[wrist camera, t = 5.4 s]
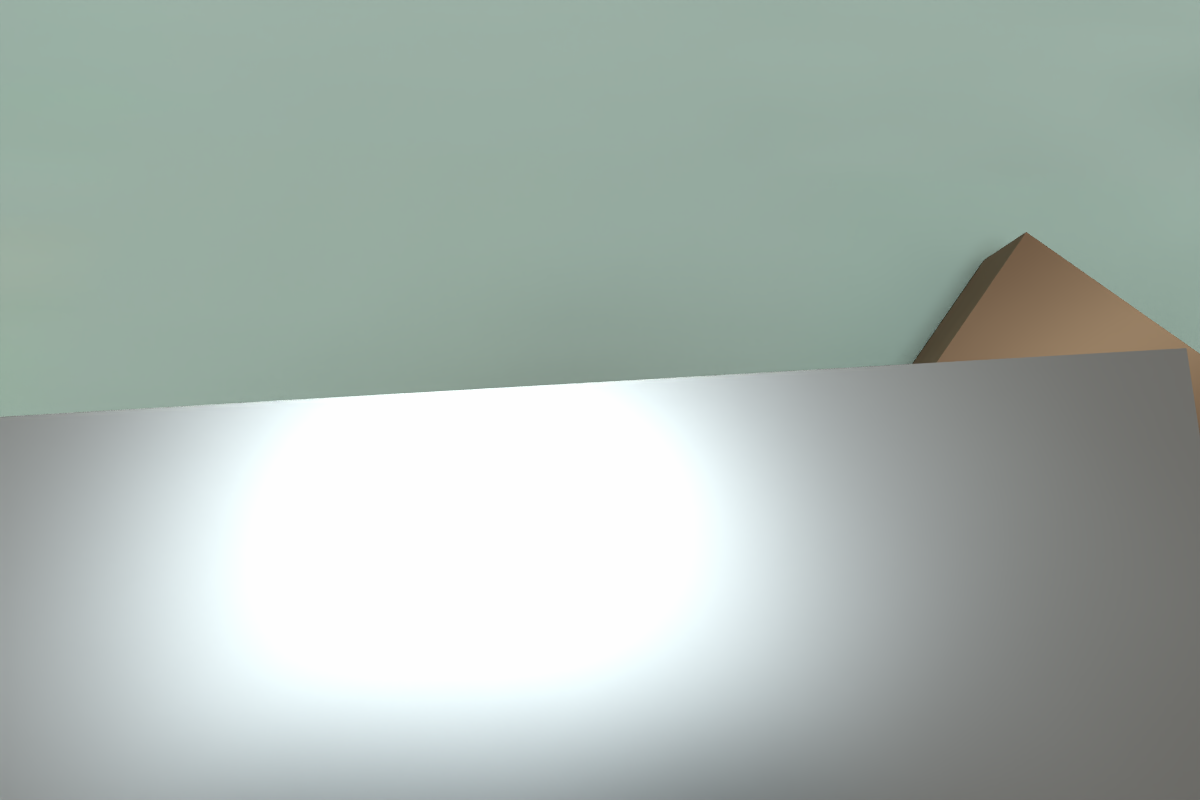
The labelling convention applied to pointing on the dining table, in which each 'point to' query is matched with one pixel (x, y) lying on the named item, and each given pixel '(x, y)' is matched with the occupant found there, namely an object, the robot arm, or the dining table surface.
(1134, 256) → the dining table surface
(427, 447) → the brushed metal box
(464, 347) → the dining table surface
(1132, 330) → the plate
